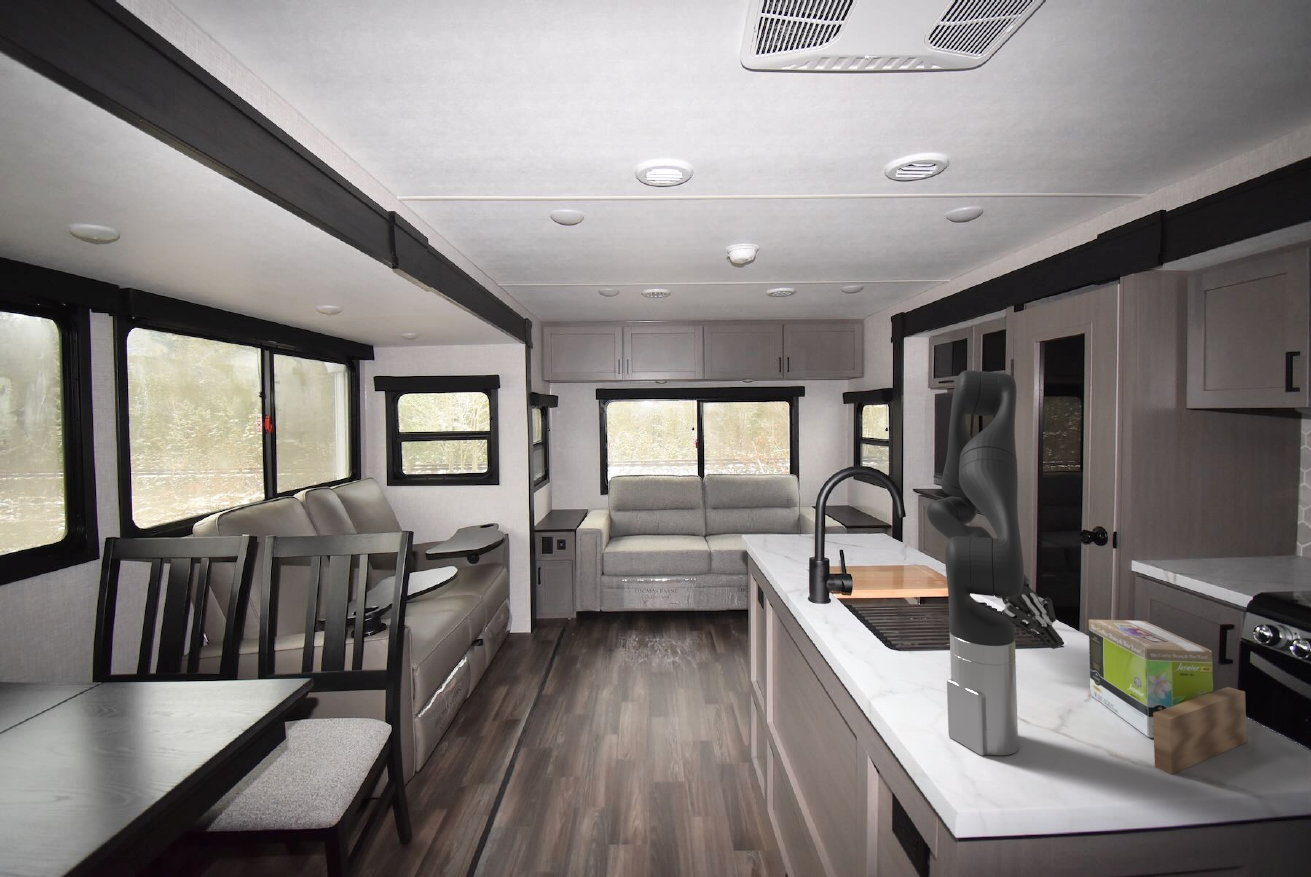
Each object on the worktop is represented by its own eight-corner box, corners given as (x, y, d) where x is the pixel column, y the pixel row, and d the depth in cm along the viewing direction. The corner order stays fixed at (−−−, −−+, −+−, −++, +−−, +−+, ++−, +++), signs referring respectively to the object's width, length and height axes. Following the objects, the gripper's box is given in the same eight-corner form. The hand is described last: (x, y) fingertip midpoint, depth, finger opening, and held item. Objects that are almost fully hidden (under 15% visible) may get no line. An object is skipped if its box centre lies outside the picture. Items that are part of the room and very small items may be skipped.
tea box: (1218, 742, 86) (1215, 650, 86) (1147, 739, 88) (1144, 648, 88) (1147, 697, 101) (1145, 618, 101) (1088, 695, 103) (1085, 617, 103)
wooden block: (1171, 774, 79) (1169, 719, 79) (1154, 766, 81) (1153, 713, 81) (1246, 742, 86) (1245, 691, 86) (1229, 735, 88) (1228, 686, 88)
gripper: (987, 565, 114) (1049, 643, 103) (1031, 558, 119) (1095, 632, 107) (966, 584, 119) (1023, 660, 108) (1008, 576, 124) (1067, 649, 112)
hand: (1058, 646), depth 108 cm, fingers closed
